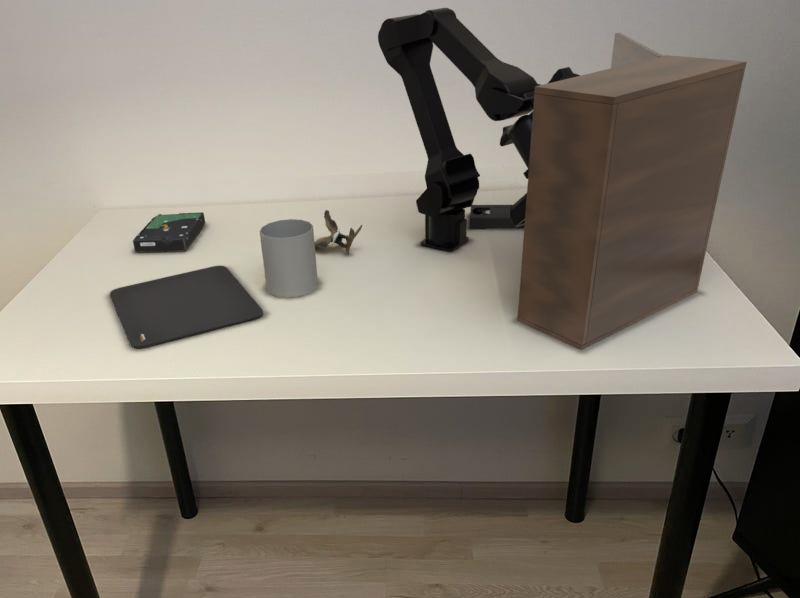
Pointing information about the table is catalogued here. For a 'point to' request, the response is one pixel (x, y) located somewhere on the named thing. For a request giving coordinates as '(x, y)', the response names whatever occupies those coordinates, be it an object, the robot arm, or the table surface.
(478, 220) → the vhs tape
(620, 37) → the cupboard door
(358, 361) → the table surface
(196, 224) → the disk drive
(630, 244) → the cupboard
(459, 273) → the table surface
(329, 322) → the table surface
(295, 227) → the cup
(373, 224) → the table surface
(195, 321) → the mouse pad
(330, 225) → the eagle figurine
